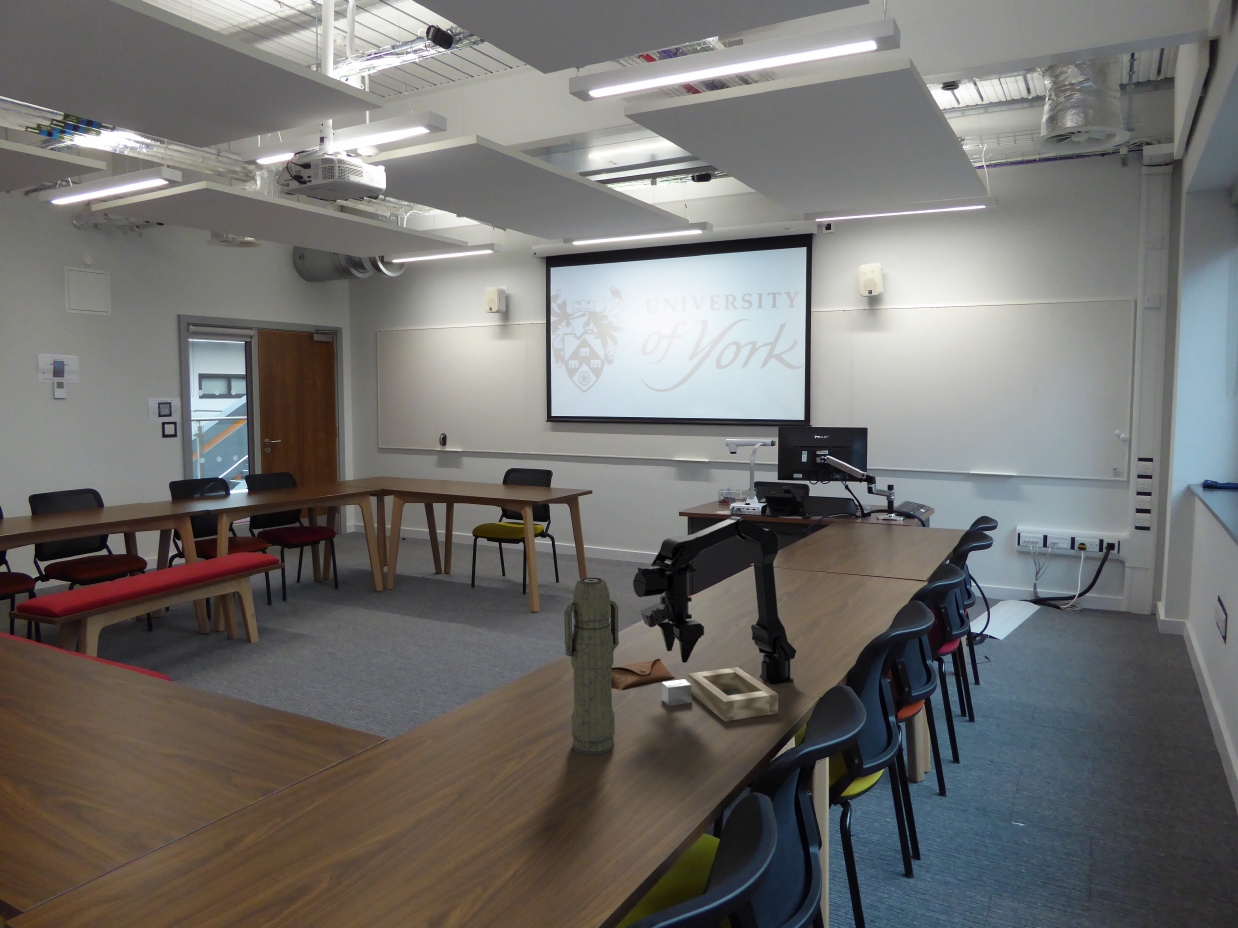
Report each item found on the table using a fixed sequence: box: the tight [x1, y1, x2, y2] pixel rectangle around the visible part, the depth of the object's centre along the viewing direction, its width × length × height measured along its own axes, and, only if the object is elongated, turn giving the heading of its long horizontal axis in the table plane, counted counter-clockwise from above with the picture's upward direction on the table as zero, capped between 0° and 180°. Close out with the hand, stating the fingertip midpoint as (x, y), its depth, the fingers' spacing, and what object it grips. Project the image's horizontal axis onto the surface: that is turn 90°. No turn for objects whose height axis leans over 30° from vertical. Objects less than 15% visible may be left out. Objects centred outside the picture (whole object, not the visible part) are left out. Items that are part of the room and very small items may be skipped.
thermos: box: [563, 577, 620, 756], centre depth 165 cm, size 9×12×35 cm
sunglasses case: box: [611, 658, 676, 691], centre depth 206 cm, size 18×7×7 cm
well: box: [687, 666, 779, 722], centre depth 189 cm, size 14×20×4 cm
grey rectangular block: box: [661, 678, 693, 707], centre depth 190 cm, size 6×4×4 cm, turn 109°
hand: (676, 656), depth 190 cm, fingers open, 9 cm apart
